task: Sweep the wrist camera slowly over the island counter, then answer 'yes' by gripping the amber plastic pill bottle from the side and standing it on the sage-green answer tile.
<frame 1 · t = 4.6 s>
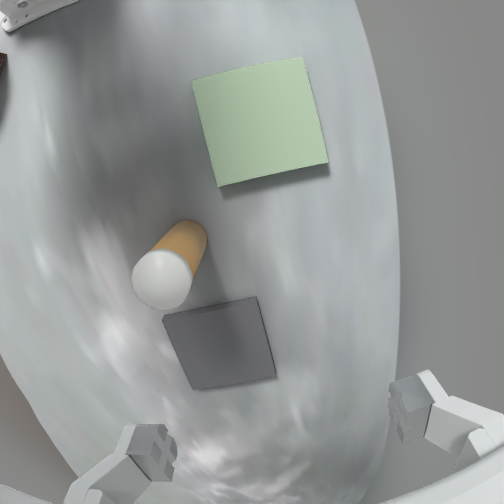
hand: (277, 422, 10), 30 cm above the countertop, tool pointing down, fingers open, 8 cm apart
pill bottle: (187, 239, 39), on the countertop
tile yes: (259, 119, 34), on the countertop
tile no: (222, 345, 43), on the countertop
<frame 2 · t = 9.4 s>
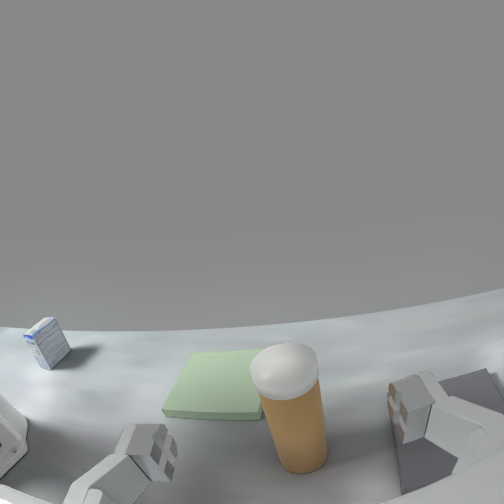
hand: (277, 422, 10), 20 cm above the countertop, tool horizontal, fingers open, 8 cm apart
pill bottle: (303, 454, 27), on the countertop
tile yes: (222, 386, 41), on the countertop
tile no: (452, 429, 23), on the countertop
medicine box: (56, 360, 55), on the countertop
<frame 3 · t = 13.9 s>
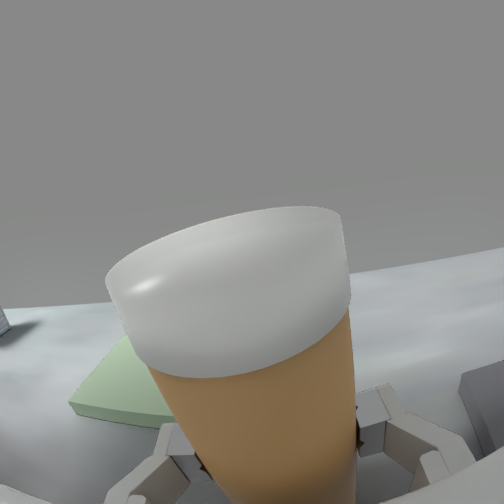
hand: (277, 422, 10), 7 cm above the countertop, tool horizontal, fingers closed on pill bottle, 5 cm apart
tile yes: (168, 371, 25), on the countertop
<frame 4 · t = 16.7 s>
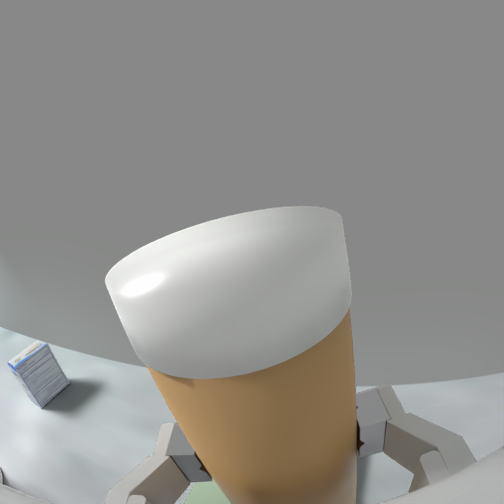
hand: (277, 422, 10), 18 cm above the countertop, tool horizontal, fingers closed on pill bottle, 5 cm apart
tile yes: (267, 497, 21), on the countertop
medicine box: (51, 394, 41), on the countertop
when the fingers open (9 cm above the countertop, at t = 19.5 s): pill bottle drops 1 cm, resting on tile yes.
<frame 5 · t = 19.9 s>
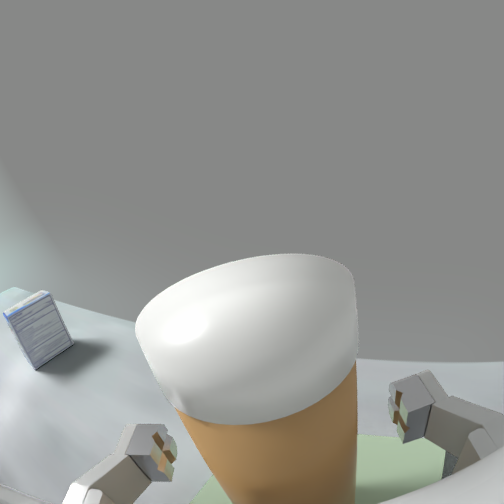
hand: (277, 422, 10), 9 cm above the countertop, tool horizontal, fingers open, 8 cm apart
medicine box: (51, 355, 37), on the countertop
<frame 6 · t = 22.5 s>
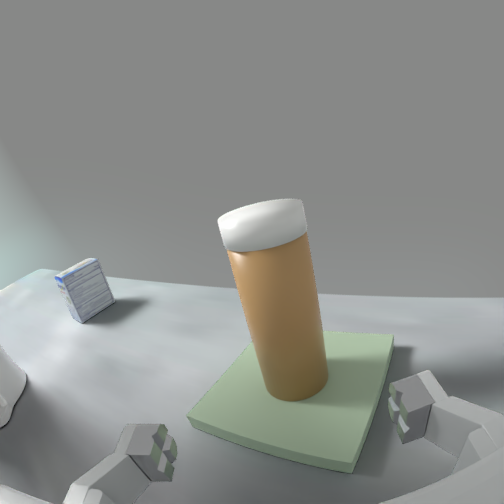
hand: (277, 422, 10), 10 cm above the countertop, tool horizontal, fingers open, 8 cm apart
pill bottle: (296, 378, 23), point 2 cm above the countertop, touching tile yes
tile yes: (300, 391, 23), on the countertop
medicine box: (94, 312, 50), on the countertop
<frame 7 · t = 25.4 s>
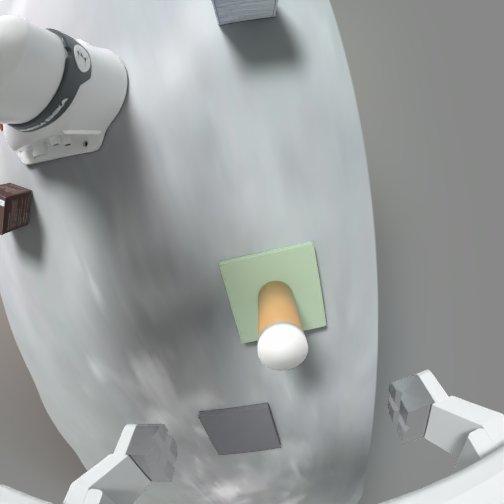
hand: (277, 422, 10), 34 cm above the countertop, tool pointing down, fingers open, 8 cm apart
pill bottle: (275, 297, 44), point 2 cm above the countertop, touching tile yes
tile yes: (275, 293, 45), on the countertop
box: (19, 202, 41), on the countertop
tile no: (241, 428, 54), on the countertop
medicine box: (244, 10, 33), on the countertop
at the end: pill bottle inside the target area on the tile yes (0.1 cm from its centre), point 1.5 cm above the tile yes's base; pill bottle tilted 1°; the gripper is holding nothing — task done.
